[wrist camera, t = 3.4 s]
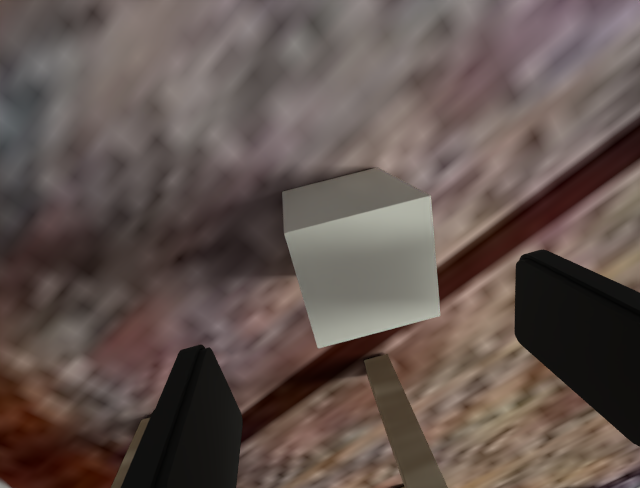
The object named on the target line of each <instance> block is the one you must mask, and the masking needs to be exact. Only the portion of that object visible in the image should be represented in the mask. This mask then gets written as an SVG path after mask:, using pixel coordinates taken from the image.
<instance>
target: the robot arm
mask: <svg viewBox="0 0 640 488" xmlns="http://www.w3.org/2000/svg"><path fill="white" fill-rule="evenodd" d="M515 336H516V338H517V340H518V341H519V343H520V344H521V345H522V346H523V347H524V348H526V349H527V350H528V351H529V352H530V353H531V354H532V355H534V356H535V357H536V358H537V359H538V360H539V361H540V362H542V363H543V364H544V365H545V366H546V367H547V368H548V369H549V370H551V371H552V372H553V373H554V374H555V375H556V376H557V377H559V378H560V379H561V380H562V381H563V382H564V383H565V384H566V385H568V386H569V387H570V388H571V389H572V390H573V391H574V392H576V393H577V394H578V395H579V396H580V397H581V398H582V399H583V400H585V401H586V402H587V403H588V404H589V405H590V406H591V407H593V408H594V409H595V410H596V411H597V412H598V413H599V414H600V415H602V416H603V417H604V418H605V419H606V420H607V421H608V422H610V423H611V424H612V425H613V426H614V427H615V428H616V429H617V430H619V431H620V432H621V433H622V434H623V435H624V436H625V437H627V438H628V439H629V440H630V441H631V442H633V443H634V444H636V445H638V446H640V293H639V292H637V291H635V290H633V289H630V288H628V287H626V286H624V285H622V284H619V283H617V282H615V281H613V280H611V279H608V278H606V277H604V276H602V275H600V274H597V273H595V272H593V271H591V270H589V269H586V268H584V267H582V266H580V265H578V264H575V263H573V262H571V261H569V260H567V259H564V258H562V257H560V256H558V255H556V254H553V253H551V252H549V251H547V250H538V251H535V252H531V253H527V254H524V255H522V256H521V257H520V260H519V261H518V262H517V264H516V286H515ZM241 435H242V415H241V412H240V410H239V408H238V405H237V403H236V401H235V399H234V397H233V395H232V392H231V390H230V388H229V386H228V384H227V381H226V379H225V377H224V375H223V373H222V371H221V368H220V366H219V364H218V362H217V360H216V358H215V355H214V353H213V351H212V349H211V348H206V349H205V347H204V346H203V345H197V346H194V347H190V348H186V349H183V350H181V351H180V352H179V354H178V356H177V358H176V361H175V363H174V366H173V368H172V370H171V373H170V375H169V377H168V380H167V382H166V385H165V387H164V389H163V392H162V394H161V397H160V399H159V401H158V404H157V406H156V409H155V410H154V411H153V413H152V415H151V417H150V419H149V421H148V424H147V426H146V429H145V431H144V433H143V436H142V438H141V440H140V443H139V445H138V447H137V450H136V452H135V455H134V457H133V459H132V462H131V464H130V466H129V469H128V471H127V473H126V476H125V478H124V481H123V483H122V485H121V488H236V483H237V473H238V464H239V454H240V444H241Z"/></svg>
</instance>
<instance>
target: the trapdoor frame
mask: <svg viewBox="0 0 640 488" xmlns="http://www.w3.org/2000/svg"><path fill="white" fill-rule="evenodd" d="M364 363H365V367H366V372H367V376H368V380H369V383H370V386H371V389H372V392H373V395H374V397H375V400H376V403H377V406H378V409H379V412H380V415H381V418H382V421H383V424H384V427H385V430H386V433H387V436H388V439H389V442H390V445H391V448H392V451H393V454H394V457H395V460H396V463H397V466H398V469H399V472H400V475H401V478H402V481H403V484H404V487H401V488H448V487H447V485H446V483H445V481H444V478H443V476H442V474H441V472H440V470H439V467H438V465H437V463H436V461H435V459H434V456H433V454H432V452H431V450H430V448H429V445H428V443H427V441H426V439H425V436H424V434H423V432H422V430H421V428H420V425H419V423H418V421H417V419H416V417H415V414H414V412H413V410H412V408H411V405H410V403H409V401H408V399H407V397H406V394H405V392H404V390H403V388H402V386H401V383H400V381H399V379H398V377H397V374H396V372H395V370H394V368H393V366H392V363H391V361H390V359H389V357H388V355H387V354H386V355H382V356H378V357H374V358H371V359H367V360H364ZM149 419H150V418H146V419H143V420H141V422H140V424H139V426H138V429H137V431H136V433H135V435H134V438H133V440H132V442H131V444H130V446H129V449H128V451H127V453H126V455H125V457H124V460H123V462H122V464H121V466H120V468H119V471H118V473H117V475H116V477H115V479H114V482H113V484H112V486H111V488H121V485H122V483H123V481H124V478H125V476H126V473H127V471H128V469H129V466H130V464H131V462H132V459H133V457H134V455H135V452H136V450H137V447H138V445H139V443H140V440H141V438H142V436H143V433H144V431H145V429H146V426H147V424H148V421H149Z"/></svg>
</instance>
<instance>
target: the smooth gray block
mask: <svg viewBox="0 0 640 488" xmlns="http://www.w3.org/2000/svg"><path fill="white" fill-rule="evenodd" d="M282 198H283V222H284V235H285V238H286V242H287V245H288V249H289V252H290V255H291V259H292V262H293V265H294V269H295V272H296V276H297V279H298V282H299V286H300V289H301V293H302V296H303V299H304V303H305V306H306V309H307V313H308V316H309V320H310V323H311V326H312V330H313V333H314V336H315V340H316V343H317V347H318V348H322V347H326V346H329V345H333V344H337V343H341V342H344V341H348V340H352V339H356V338H359V337H363V336H367V335H371V334H374V333H378V332H382V331H385V330H389V329H393V328H397V327H400V326H404V325H408V324H412V323H415V322H419V321H423V320H427V319H430V318H434V317H438V316H440V305H439V293H438V280H437V268H436V255H435V243H434V231H433V218H432V206H431V195H429V194H427V193H425V192H423V191H421V190H419V189H417V188H416V187H414V186H412V185H410V184H408V183H406V182H404V181H402V180H400V179H399V178H397V177H395V176H393V175H391V174H389V173H387V172H385V171H383V170H382V169H380V168H378V167H377V168H373V169H369V170H365V171H361V172H358V173H354V174H350V175H346V176H342V177H338V178H334V179H330V180H326V181H322V182H318V183H314V184H310V185H306V186H302V187H298V188H295V189H291V190H287V191H283V192H282Z"/></svg>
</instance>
